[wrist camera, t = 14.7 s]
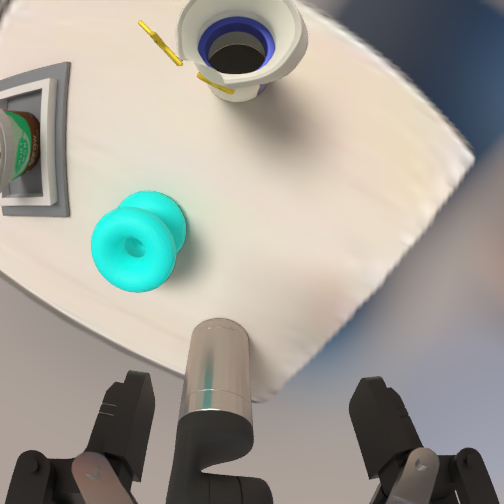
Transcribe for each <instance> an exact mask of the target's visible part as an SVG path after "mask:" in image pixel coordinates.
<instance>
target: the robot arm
mask: <svg viewBox="0 0 504 504" xmlns="http://www.w3.org/2000/svg"><path fill="white" fill-rule="evenodd" d="M154 410H155V396H154V392H153V388H152V383H151V378H150V374H149V373H145V372H138V371H132V370H129V371H128V373H127V376H126V379H125V381H124V383H119V382H115V383H114V384H113V385H112V386H111V387H110V388H109V389H108V390H107V391H106V394H105V396H104V399H103V402H102V405H101V407H100V410H99V414H98V416H97V419H96V422H95V425H94V427H93V430H92V433H91V436H90V440H89V443H88V446H87V448H86V449H85V451H84V452H83V453H81V454H80V455H78V456H77V457H75V458H72V459H47V458H46V457H45V456H44V455H43V454H42V453H41V452H38V451H35V450H29V451H25V452H23V453H22V454H21V455H20V456H19V458H18V460H17V463H16V466H15V469H14V472H13V475H12V479H11V483H10V486H9V490H8V494H7V497H6V502H5V504H138V502H137V501H136V499H135V498H134V496H133V495H132V493H131V491H130V490H131V484H132V481H136V482H141V477H142V472H143V466H144V461H145V455H146V450H147V444H148V440H149V435H150V429H151V425H152V420H153V415H154ZM349 414H350V417H351V421H352V423H353V427H354V430H355V433H356V437H357V440H358V443H359V446H360V449H361V453H362V456H363V460H364V463H365V466H366V469H367V473H368V476H369V479H374V478H378V477H379V479H380V483H379V485H378V487H377V489H376V491H375V493H374V495H373V497H372V499H371V501H370V503H369V504H459V503H458V500H457V497H456V494H455V490H456V491H457V494H458V498H459V501H460V504H499V501H498V498H497V495H496V493H495V490H494V487H493V484H492V482H491V479H490V476H489V474H488V471H487V469H486V467H485V464H484V462H483V459H482V457H481V455H480V453H479V452H478V451H477V450H475V449H473V448H464V449H462V450H461V451H460V452H459V453H458V454H457V455H436V453H435V452H434V451H432V450H431V449H429V448H424V447H423V445H422V443H421V441H420V439H419V436H418V434H417V432H416V430H415V427H414V425H413V423H412V421H411V418H410V416H408V412H407V410H406V408H405V406H404V403H403V401H402V399H401V397H400V396H399V395H398V394H397V393H396V392H395V391H394V390H393V389H392V388H387V387H386V385H385V382H384V381H383V379H382V377H380V376H377V377H367V378H362V379H361V380H360V382H359V384H358V386H357V388H356V390H355V392H354V394H353V396H352V398H351V400H350V403H349ZM253 442H254V436H253V421H252V405H251V385H250V365H249V343H248V336H247V333H246V331H245V330H244V329H243V328H242V327H241V326H240V325H239V324H237V323H235V322H233V321H230V320H227V319H210V320H207V321H204V322H202V323H201V324H199V325H198V326H197V327H196V328H195V329H194V331H193V333H192V338H191V343H190V349H189V354H188V360H187V366H186V372H185V378H184V384H183V391H182V397H181V404H180V411H179V418H178V425H177V434H176V444H175V452H174V460H173V465H172V471H171V476H170V481H169V486H168V492H167V497H166V504H273V497H272V493H271V490H270V488H269V486H268V484H267V483H266V482H265V481H264V480H262V479H260V478H254V477H242V476H229V475H219V474H209V473H202V472H201V470H203V469H205V468H207V467H209V466H212V465H216V464H220V463H224V462H229V461H233V460H236V459H239V458H241V457H243V456H245V455H246V454H248V452H250V450H251V449H252V447H253Z"/></svg>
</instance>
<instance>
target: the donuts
mask: <svg viewBox="0 0 504 504" xmlns="http://www.w3.org/2000/svg"><path fill="white" fill-rule="evenodd" d="M185 237H186V222H185V218H184V216H183V213H182V211H181V210H180V208H179V207H178V205H177V204H176V203H175V202H174V201H173V200H172V199H170V198H169V197H168V196H166V195H164V194H162V193H159V192H155V191H140V192H137V193H134V194H132V195H130V196H129V197H127V198H126V199H125V200H124V201H123V202H122V203H121V204H120V205H119V207H118V208H117V209H115V210H112V211H110V212H109V213H107V214H106V215H105V216H104V217H102V218H101V220H100V221H99V222H98V223H97V225H96V227H95V229H94V232H93V234H92V239H91V252H92V257H93V260H94V263H95V265H96V267H97V269H98V270H99V272H100V273H101V274H102V276H103V277H104V278H105V279H106V280H107V281H108V282H110V283H111V284H112V285H114V286H116V287H118V288H120V289H122V290H125V291H129V292H136V293H139V292H147V291H151V290H153V289H156V288H157V287H159V286H160V285H162V284H163V283H164V282H165V281H166V280H167V279H168V278H169V276H170V275H171V273H172V271H173V268H174V266H175V261H176V254H177V253H178V252H179V251H180V249H181V248H182V246H183V243H184V241H185Z"/></svg>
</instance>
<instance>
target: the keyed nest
mask: <svg viewBox="0 0 504 504" xmlns="http://www.w3.org/2000/svg"><path fill="white" fill-rule="evenodd" d="M70 63H71V62H63V63H58V64H54V65H50V66H46V67H42V68H38V69H35V70H31V71H28V72H24V73H21V74H18V75H15V76H12V77H9V78H6V79H3V80H0V108H1V109H2V110H11V111H24V112H29V113H31V114H33V115H34V116H35V117H36V118H37V119H38V121H39V122H40V149H41V156H40V158H39V160H38V163H37V164H36V165H35V166H34V167H33V168H32V169H31V170H30V171H28V172H26V173H24V174H23V175H21V176H19V177H18V178H16V179H14V180H13V181H11V182H9V183H8V184H7V185H6V187H5V188H4V190H3V191H2V192H1V193H0V206H2V212H3V216H53V217H67V216H68V215H70V213H69V202H68V190H67V173H66V110H67V93H68V81H69V71H70Z"/></svg>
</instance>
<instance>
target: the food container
mask: <svg viewBox="0 0 504 504" xmlns="http://www.w3.org/2000/svg"><path fill="white" fill-rule="evenodd" d="M40 156H41V149H40V122H39V121H38V119H37V118H36V117H35V116H34V115H33V114H31V113H29V112H24V111H11V110H2V109H1V108H0V193H1V192H2V191H3V190H4V188H5V187H6V185H7V184H8V183H9V182H11V181H13V180H14V179H16V178H18V177H19V176H21V175H23V174H24V173H26V172H28V171H30V170H31V169H32V168H33V167H34V166H35V165H36V164H37V163H38V160H39V158H40Z"/></svg>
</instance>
